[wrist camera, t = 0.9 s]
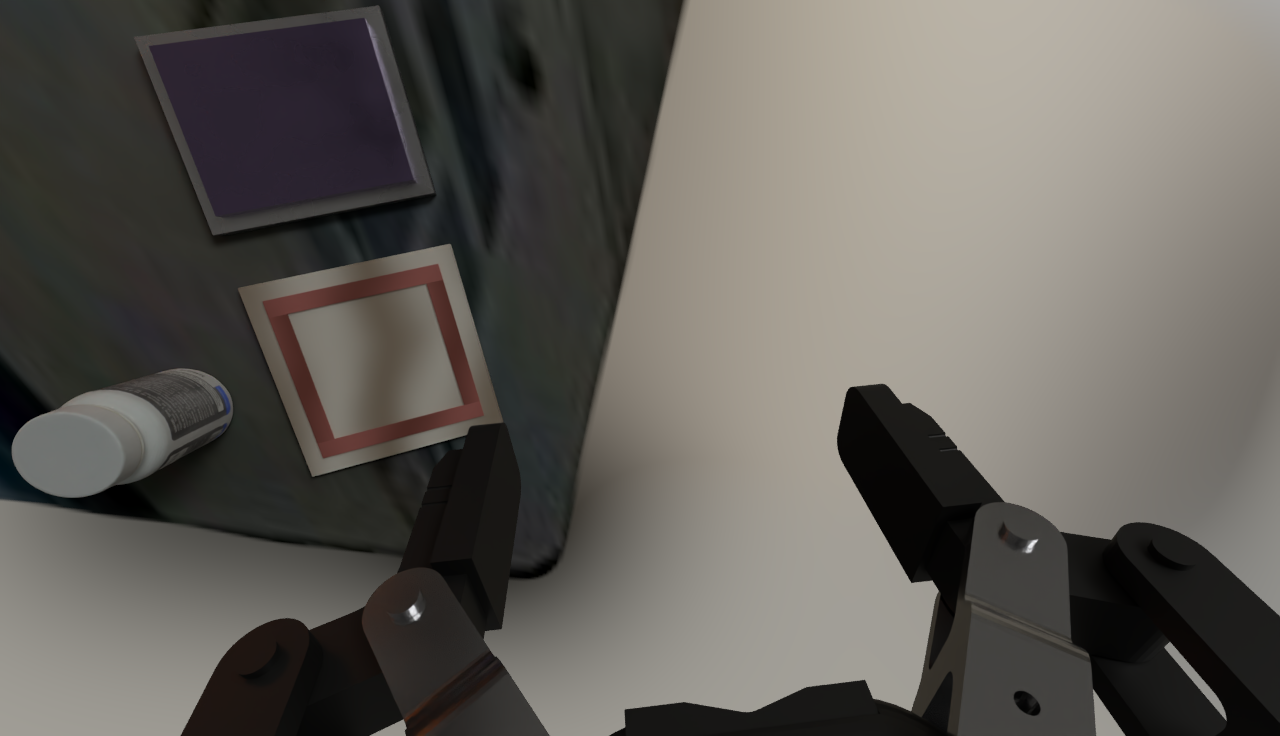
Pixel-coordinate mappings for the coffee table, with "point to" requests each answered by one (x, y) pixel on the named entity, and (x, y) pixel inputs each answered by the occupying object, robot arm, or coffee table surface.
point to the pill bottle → (121, 432)
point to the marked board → (374, 357)
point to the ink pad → (289, 117)
